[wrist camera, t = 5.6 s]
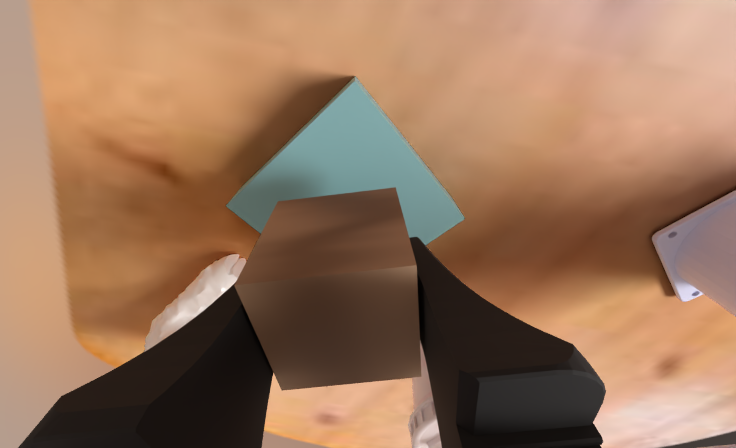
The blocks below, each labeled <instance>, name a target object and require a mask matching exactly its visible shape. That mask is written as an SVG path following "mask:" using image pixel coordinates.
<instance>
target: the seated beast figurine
mask: <svg viewBox="0 0 736 448" xmlns="http://www.w3.org/2000/svg"><path fill="white" fill-rule="evenodd" d="M239 256H240V255H239V254H232V255H228V256H225V257H223V258H221V259H219V260H218V261H217V260H215V261H214V262H213V264H210V265H208V267H207V268H206V269H204V270H202V271H201V272H200V274H199V276H197V277H196V279H195V280H194V281H193V282H192V283H191V284H190V285H188V287H186V289H185V291H183V292H182V293H180V294H179V295H178V298H176V299H174V300H173V302H172V303H171V304H168V305H166V307H165V310H164V311H163V312H162V313H161V314H159V315H157V316H156V318H155V319H153V320H152V324H151V328H150V332H149V333H148V335H147V336H146V339H145V343H146V344H145V346H144V347H145V350H144V352H145V351H147V350H148V349H150V348H151V347H153V346H155V345H156V344H158V343H159V342H161V341H162V340H164V339H165V338H167V337H168V336H170V335H171V334H173V333H174V332H176V331H177V330H179V329H180V328H181V327H183V326H184V325H185V324H187V323H188V322H189V321H191V320H192V319H193V318H195V317H196V316H197V315H199V314H200V313H201V312H202V311H204V310H205V309H206V308H207V307H209V306H210V305H211V304H212V303H213V302H214V301H215V300H216V299H218V298H219V297H220V296H221V295H222V294H223V293H224V292H226V291H227V290H228V289H229V288H230V287H231V286H232V285H233V284H234V283H235V282H236V281H237V279H238V277H239V275H240V273H241V271H242V269H243V267H244V266H245V264H246V259H245V258H239Z"/></svg>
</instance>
